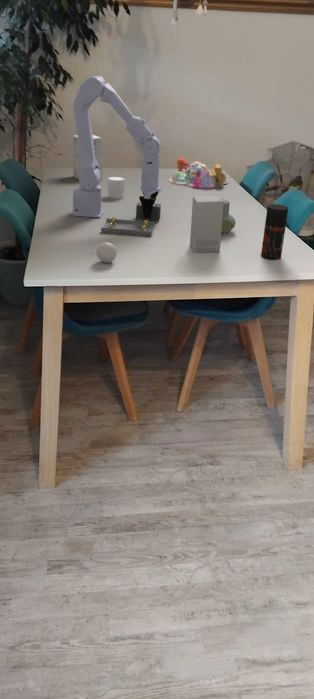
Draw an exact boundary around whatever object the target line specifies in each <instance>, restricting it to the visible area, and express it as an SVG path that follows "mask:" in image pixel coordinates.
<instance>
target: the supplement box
mask: <svg viewBox="0 0 314 699" xmlns="http://www.w3.org/2000/svg"><path fill="white" fill-rule="evenodd" d="M93 142H94V149H95V157H96V160H97V162H98V167H99V169H100V170H101V172H102V173H103V138H102V137H100V136H98V135H95V134H93ZM72 157H73V158H72V159H73V160H72V162H73V163H72V165H73V167H72V168H73V170H72V172H73V173H72V174H73V177H74V178H76V179H78V180H79V177H80V173H81V172H80V165H81V157H80V150H79V143H78V136H77V134H76V135H72ZM102 179H103V178H102ZM102 179H101V180H102ZM102 181H103V180H102Z"/></svg>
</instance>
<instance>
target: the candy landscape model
mask: <svg viewBox="0 0 314 699" xmlns="http://www.w3.org/2000/svg"><path fill="white" fill-rule="evenodd" d="M176 166H177V168H176V169H178V170H177V171H174V172H173V173H172V174H171V177H169V178H168V181H169V182H170V183H171V184H173V185H178V186H186V187H188V188H193V189H205V190H207V189H210V190H211V189H217V188H218V189H219V188H220V189H221V188H224V187H225V186H224V185H225V184H228V181H227V180H226V179H227V176H226V174H225V173H224V172H223V168H222V166H221V165H220V164H218V163H215V164H214V166H213V170H212V171H209V168H208V167H207V165H205V164H204V163H202V162H201V161H196V160H195V161H194V162H192V163H191V164H190V163H189V162H188V161H187V160H186V159H185V158H183V157H179V158H178V159H177V160H176ZM183 169H184V170H185V173H183V172H184V171H183Z"/></svg>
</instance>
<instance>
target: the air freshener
mask: <svg viewBox="0 0 314 699" xmlns="http://www.w3.org/2000/svg"><path fill="white" fill-rule="evenodd" d="M221 199H222V198H221ZM222 200H223V201H224V206H223V217H222V229H221V235H223V234H225V233H226V234H227V233H228V232H231V231H232V230H234V228H235V227H236V219H235V218H234V216H233V215H231V214H230V203H231V202H230V200H227V199H224V198H223V199H222Z"/></svg>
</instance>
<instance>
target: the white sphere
mask: <svg viewBox="0 0 314 699" xmlns="http://www.w3.org/2000/svg"><path fill="white" fill-rule="evenodd" d="M117 252H118V251H117V248H116V246H115V245H114V244H113V243H111V242H107V241H106V242H102V243H100V244H99V245H98V247H97V249H96V252H95V251H94V252H92V254H94V253H96V256H97V257H98V259H99V261H101V262H103V263H105V264H108V263H112V262H113V261H114V260H116V257H117V254H118V253H117Z"/></svg>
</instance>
